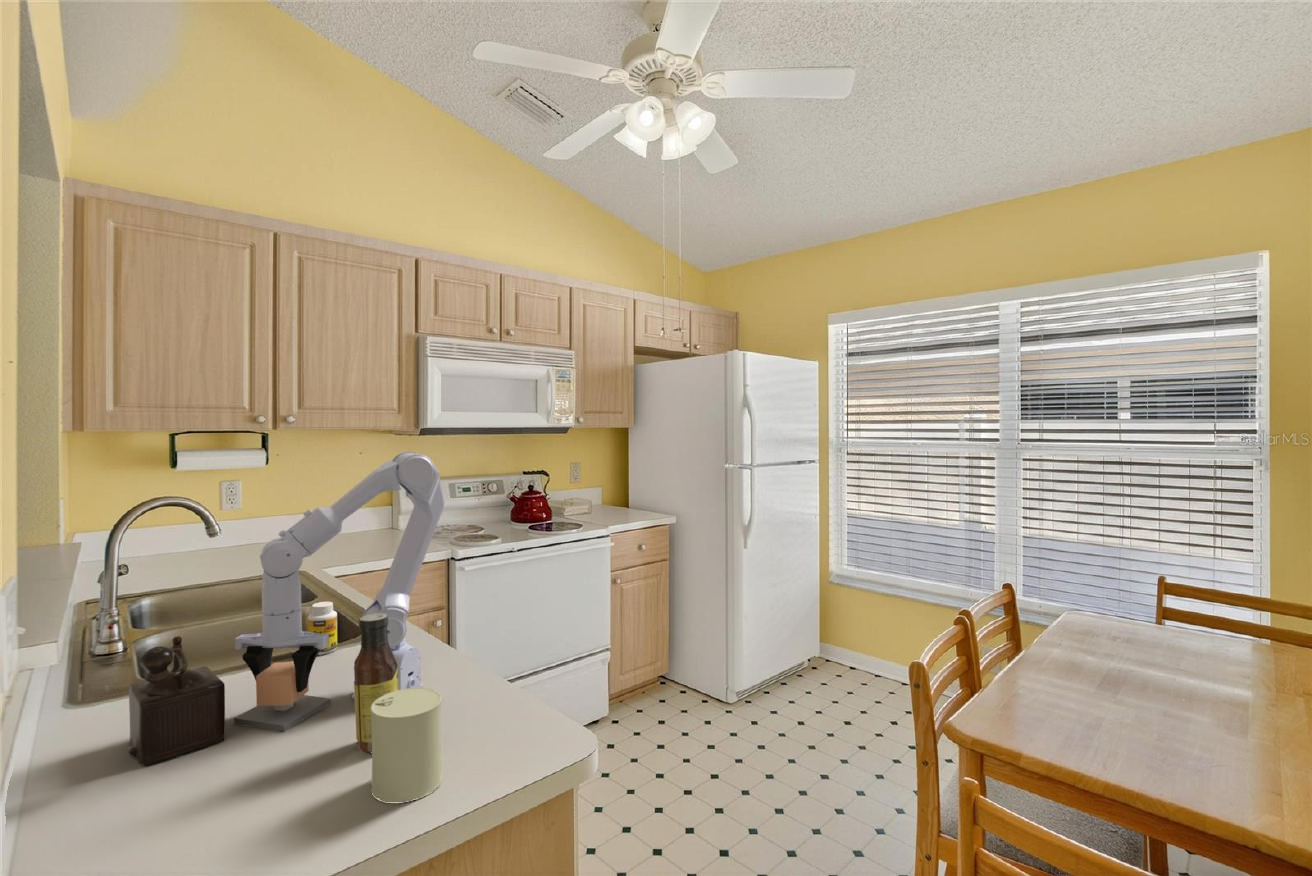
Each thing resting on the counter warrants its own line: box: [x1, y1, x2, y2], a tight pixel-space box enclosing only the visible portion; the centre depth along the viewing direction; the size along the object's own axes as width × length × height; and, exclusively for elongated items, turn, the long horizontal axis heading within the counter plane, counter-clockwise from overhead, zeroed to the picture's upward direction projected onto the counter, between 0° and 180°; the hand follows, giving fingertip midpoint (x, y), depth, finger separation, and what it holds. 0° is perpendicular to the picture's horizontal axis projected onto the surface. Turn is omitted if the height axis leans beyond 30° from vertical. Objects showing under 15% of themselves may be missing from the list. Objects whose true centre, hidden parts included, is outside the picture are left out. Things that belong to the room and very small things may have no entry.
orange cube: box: [255, 662, 310, 706], centre depth 108 cm, size 6×6×5 cm
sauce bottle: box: [353, 613, 399, 753], centre depth 98 cm, size 6×6×20 cm
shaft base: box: [233, 694, 332, 732], centre depth 108 cm, size 10×10×4 cm
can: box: [370, 687, 444, 802], centre depth 88 cm, size 9×9×12 cm
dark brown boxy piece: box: [128, 636, 226, 767], centre depth 96 cm, size 16×11×18 cm
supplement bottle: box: [307, 601, 338, 656], centre depth 136 cm, size 6×6×10 cm
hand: (283, 689), depth 108 cm, fingers closed on orange cube, 6 cm apart
